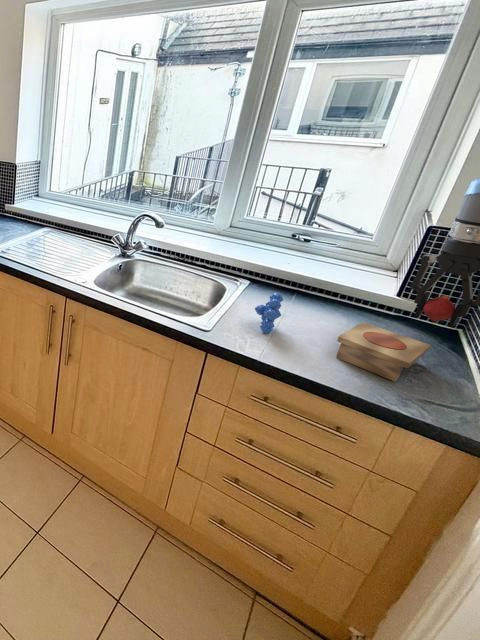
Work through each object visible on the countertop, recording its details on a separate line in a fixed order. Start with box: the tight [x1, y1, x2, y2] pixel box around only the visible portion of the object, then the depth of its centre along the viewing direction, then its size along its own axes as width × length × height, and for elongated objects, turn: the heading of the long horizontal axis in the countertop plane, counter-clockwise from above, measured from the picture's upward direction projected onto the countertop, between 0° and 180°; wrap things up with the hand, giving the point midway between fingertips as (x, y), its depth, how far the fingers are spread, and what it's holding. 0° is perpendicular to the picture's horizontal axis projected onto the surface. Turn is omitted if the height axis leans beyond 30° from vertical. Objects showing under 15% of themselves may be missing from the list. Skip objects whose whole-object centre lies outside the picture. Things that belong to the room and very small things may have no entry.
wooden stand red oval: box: [335, 321, 432, 382], centre depth 111 cm, size 14×16×6 cm
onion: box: [422, 294, 456, 323], centre depth 113 cm, size 6×6×8 cm
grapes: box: [254, 292, 284, 334], centre depth 124 cm, size 12×7×12 cm, turn 140°
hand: (434, 320), depth 115 cm, fingers closed on onion, 6 cm apart
